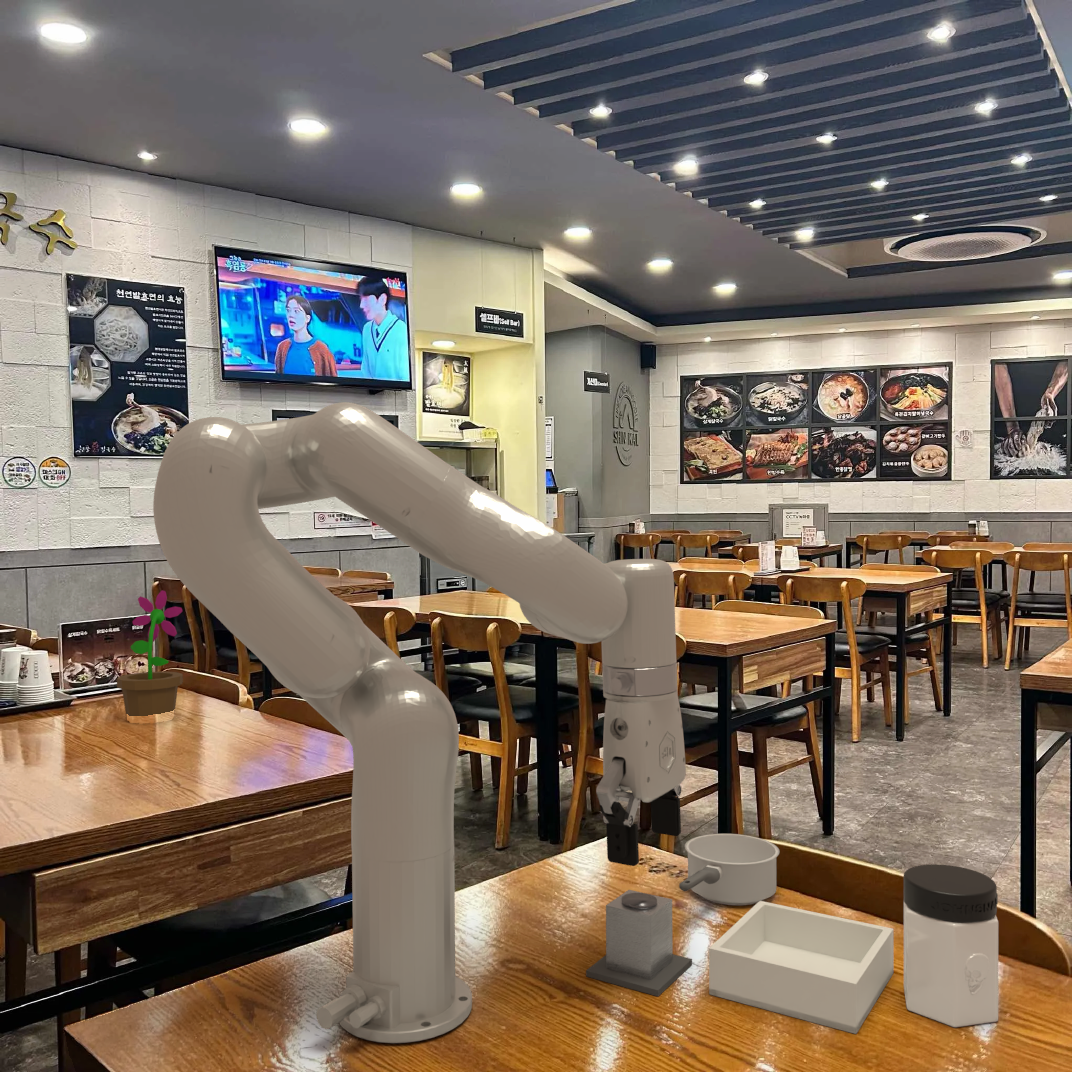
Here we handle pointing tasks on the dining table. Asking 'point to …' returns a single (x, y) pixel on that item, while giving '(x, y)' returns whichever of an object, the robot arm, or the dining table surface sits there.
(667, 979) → the ball stud
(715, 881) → the saucepan
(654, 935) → the metal block
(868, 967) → the bin
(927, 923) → the jar
